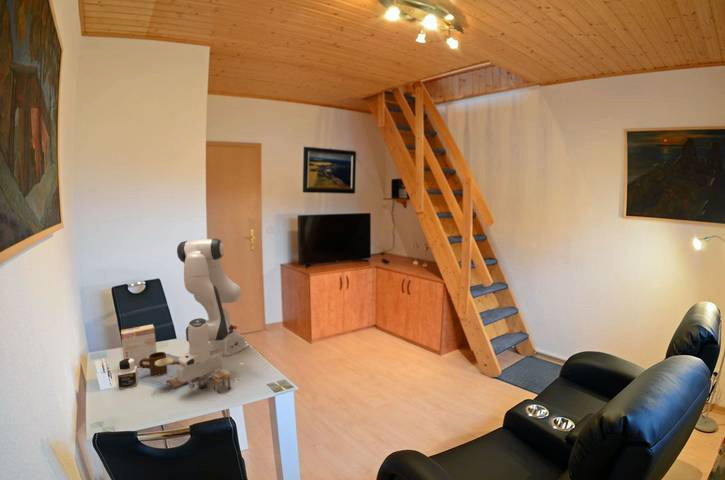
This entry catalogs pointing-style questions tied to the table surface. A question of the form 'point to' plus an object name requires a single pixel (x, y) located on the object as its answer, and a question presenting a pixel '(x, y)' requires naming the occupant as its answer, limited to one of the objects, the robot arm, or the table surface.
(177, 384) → the balance
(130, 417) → the table surface
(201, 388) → the grey domed cylinder
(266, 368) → the table surface
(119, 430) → the table surface
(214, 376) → the tan peg block
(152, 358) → the mug
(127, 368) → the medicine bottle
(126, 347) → the coffeecake box
